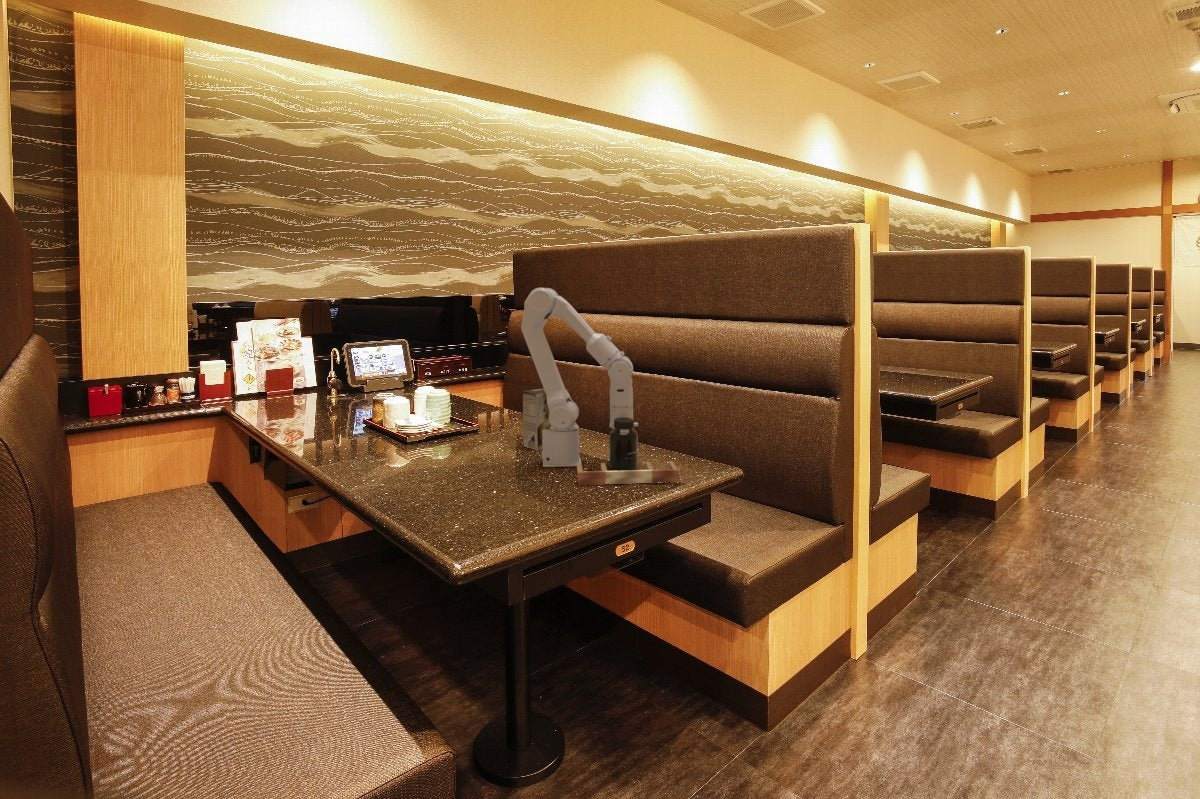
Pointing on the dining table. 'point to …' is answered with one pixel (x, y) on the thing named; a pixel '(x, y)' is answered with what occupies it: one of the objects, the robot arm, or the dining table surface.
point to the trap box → (627, 475)
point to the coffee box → (535, 417)
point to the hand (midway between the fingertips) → (622, 459)
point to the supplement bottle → (623, 445)
